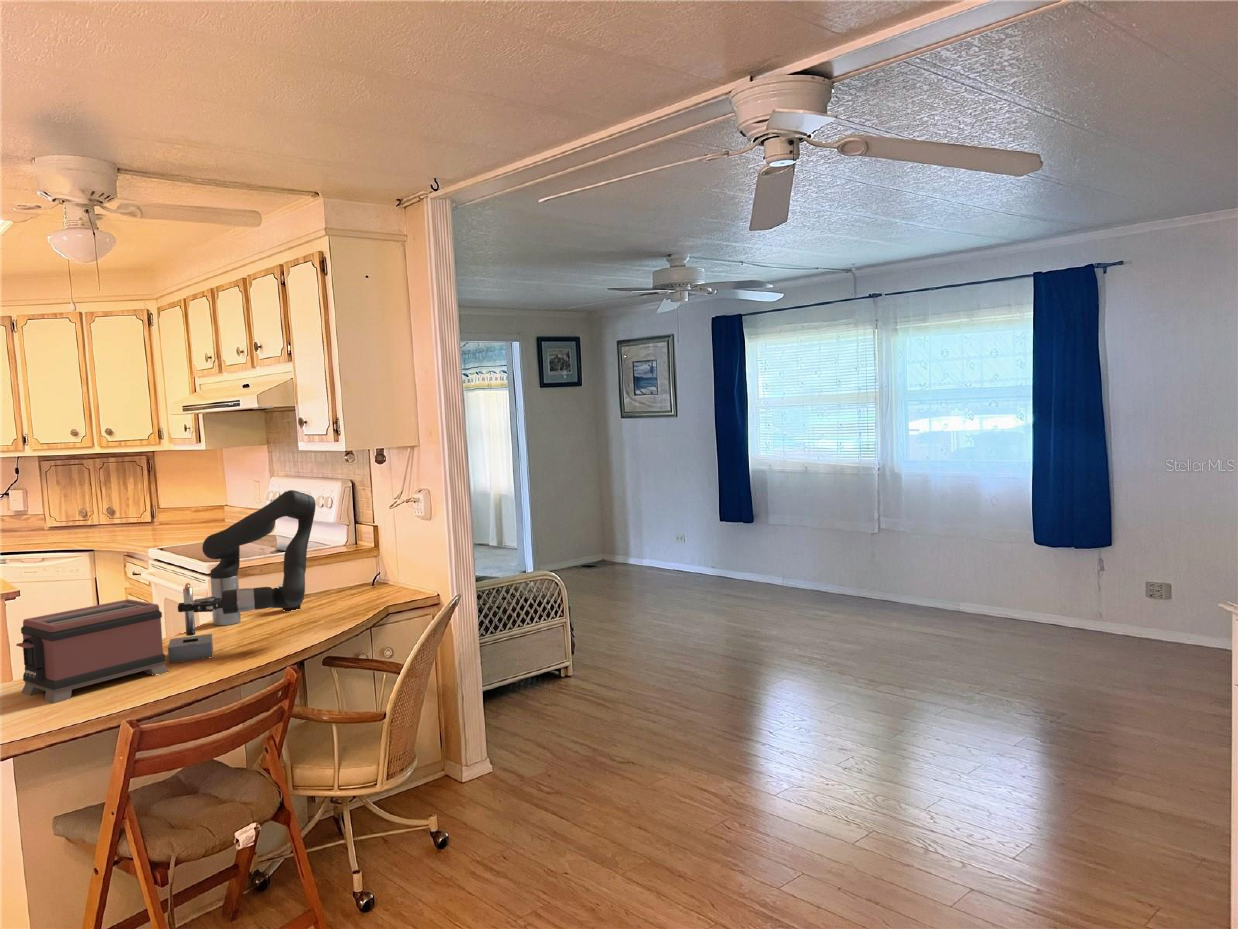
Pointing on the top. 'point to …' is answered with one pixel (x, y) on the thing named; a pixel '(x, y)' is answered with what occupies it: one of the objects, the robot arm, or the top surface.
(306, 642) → the top surface
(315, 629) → the top surface
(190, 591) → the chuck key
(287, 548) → the robot arm
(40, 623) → the toaster
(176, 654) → the block
